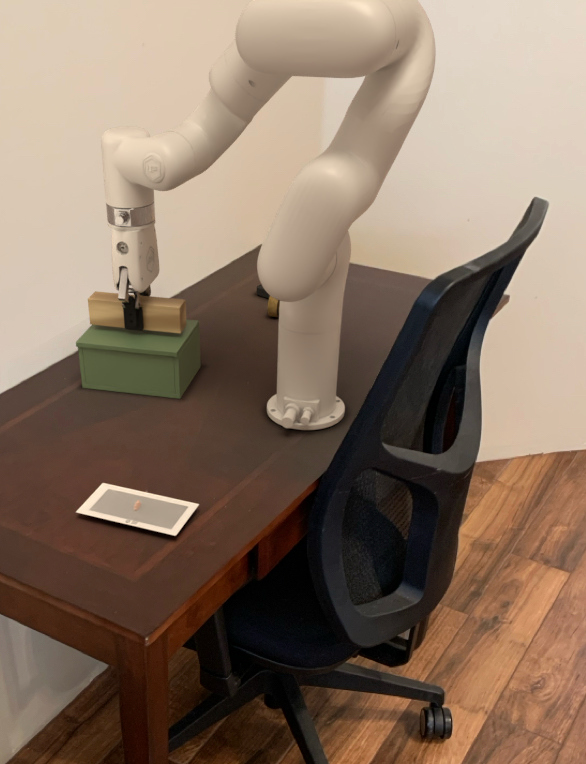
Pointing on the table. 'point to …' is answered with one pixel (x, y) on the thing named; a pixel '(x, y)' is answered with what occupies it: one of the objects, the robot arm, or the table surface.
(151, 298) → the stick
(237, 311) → the table surface
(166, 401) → the table surface
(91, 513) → the touchpad
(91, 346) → the box lid
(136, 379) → the box
